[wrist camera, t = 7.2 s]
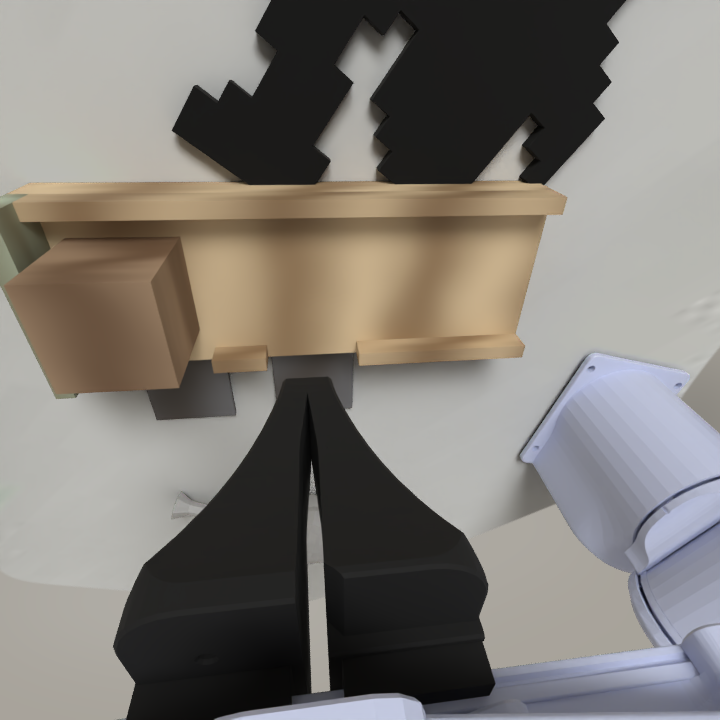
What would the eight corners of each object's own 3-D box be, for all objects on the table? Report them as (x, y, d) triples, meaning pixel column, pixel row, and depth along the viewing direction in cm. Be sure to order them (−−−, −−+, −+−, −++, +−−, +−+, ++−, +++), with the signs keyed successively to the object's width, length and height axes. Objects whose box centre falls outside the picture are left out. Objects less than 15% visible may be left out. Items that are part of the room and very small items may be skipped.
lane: (534, 180, 20) (584, 205, 17) (483, 396, 28) (510, 445, 24) (30, 182, 18) (-36, 213, 14) (122, 418, 25) (94, 476, 22)
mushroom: (163, 519, 25) (355, 564, 27) (192, 450, 28) (362, 495, 31) (161, 557, 30) (325, 592, 32) (186, 494, 33) (333, 530, 35)
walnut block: (180, 236, 18) (150, 281, 14) (199, 329, 21) (179, 388, 17) (64, 237, 18) (3, 285, 14) (99, 333, 20) (56, 394, 16)
